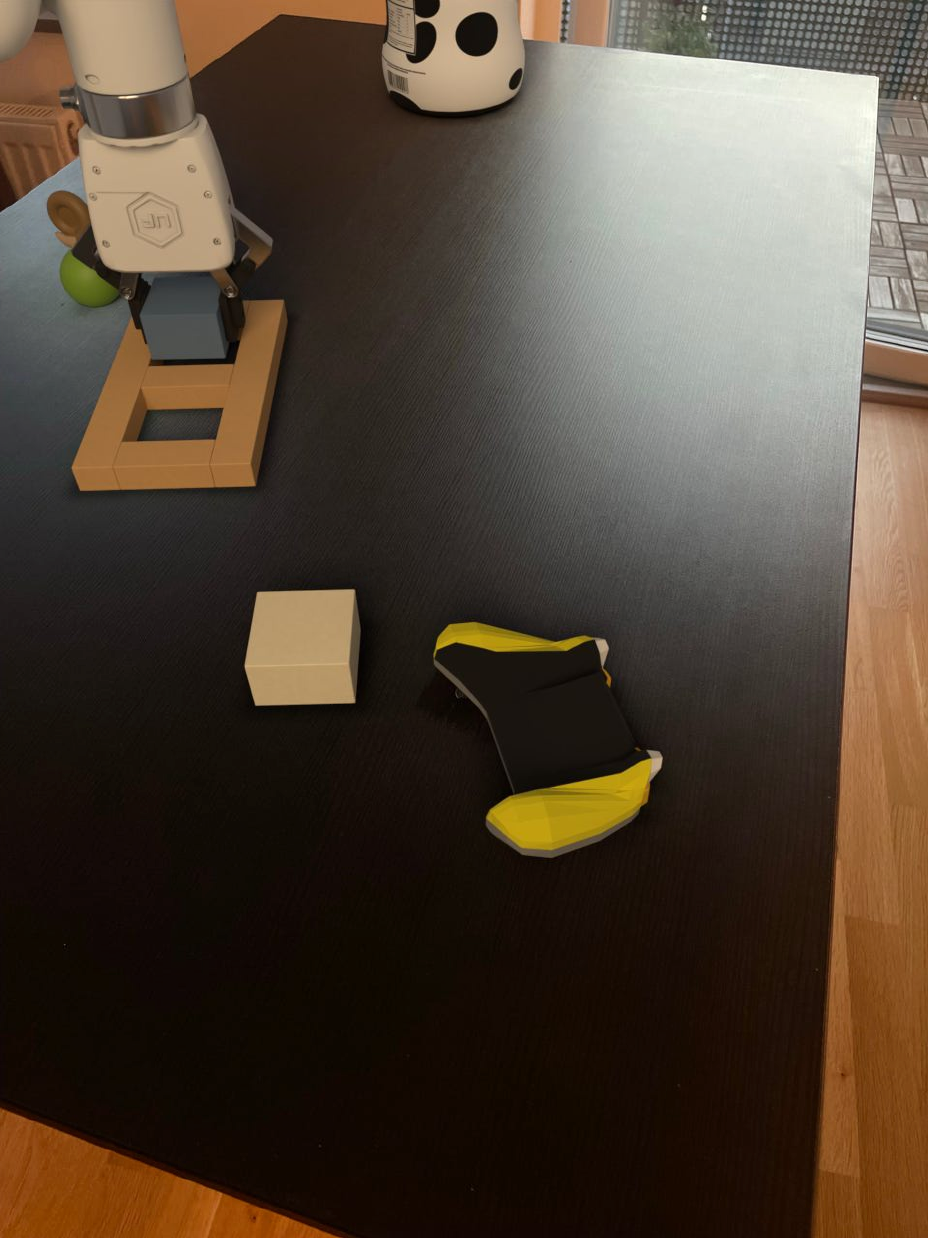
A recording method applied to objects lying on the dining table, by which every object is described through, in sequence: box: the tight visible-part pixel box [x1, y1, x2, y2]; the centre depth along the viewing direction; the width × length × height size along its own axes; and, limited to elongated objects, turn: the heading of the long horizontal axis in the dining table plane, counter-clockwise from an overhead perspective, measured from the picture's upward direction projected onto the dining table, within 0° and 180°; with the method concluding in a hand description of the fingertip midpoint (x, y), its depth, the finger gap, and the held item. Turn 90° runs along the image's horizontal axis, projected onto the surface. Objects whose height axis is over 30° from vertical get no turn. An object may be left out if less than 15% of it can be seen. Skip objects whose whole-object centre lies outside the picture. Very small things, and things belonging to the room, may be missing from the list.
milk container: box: [381, 0, 526, 118], centre depth 118 cm, size 17×17×18 cm
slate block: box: [140, 275, 230, 361], centre depth 81 cm, size 6×6×4 cm
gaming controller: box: [433, 621, 664, 859], centre depth 55 cm, size 15×6×10 cm
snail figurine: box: [46, 189, 120, 308], centre depth 88 cm, size 5×6×12 cm
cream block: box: [244, 588, 361, 707], centre depth 60 cm, size 6×6×4 cm
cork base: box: [71, 299, 288, 492], centre depth 81 cm, size 13×23×2 cm, turn 1°
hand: (193, 332), depth 82 cm, fingers closed on slate block, 6 cm apart
